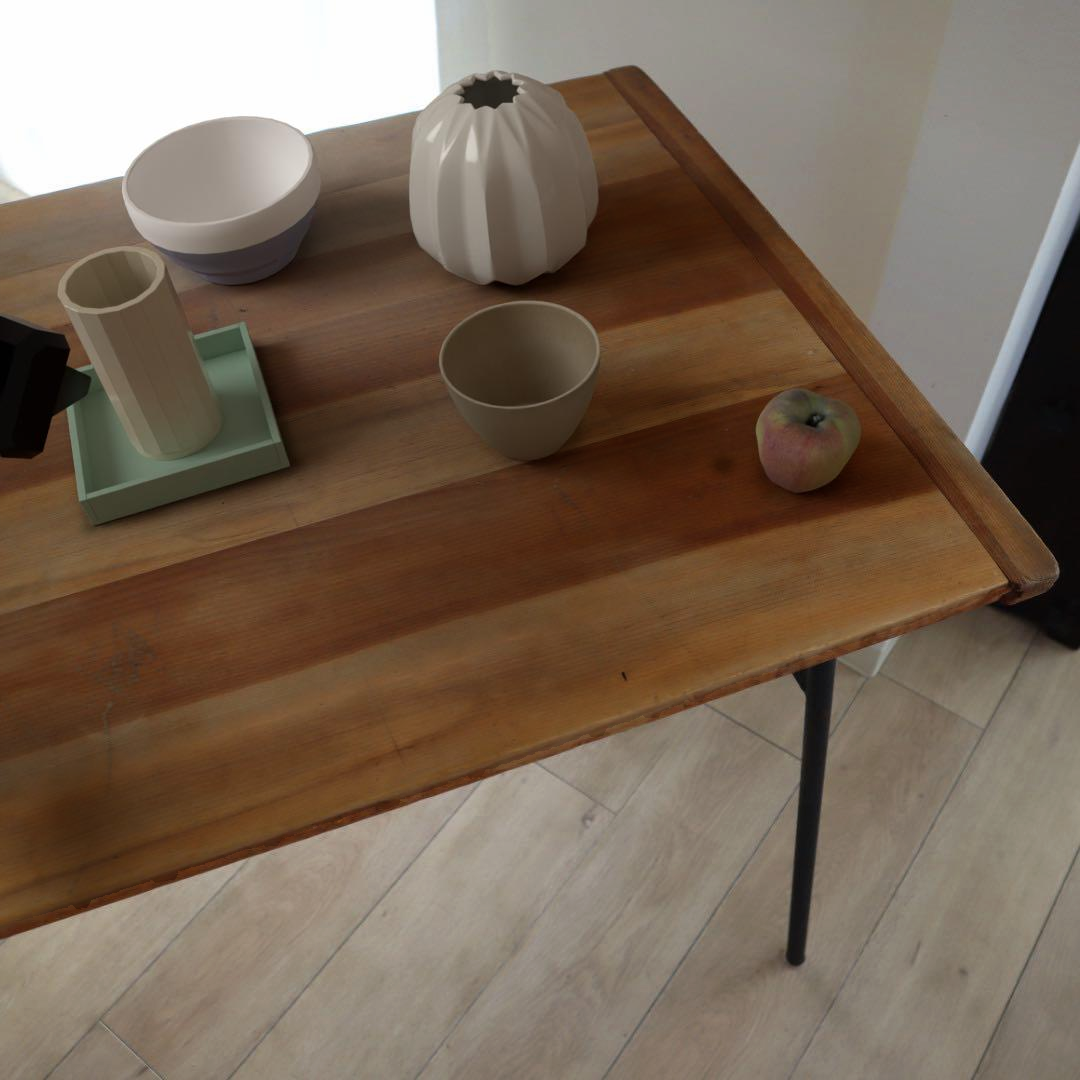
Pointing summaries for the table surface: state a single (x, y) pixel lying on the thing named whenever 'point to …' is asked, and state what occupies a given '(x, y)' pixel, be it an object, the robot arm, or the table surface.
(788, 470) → the apple
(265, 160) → the bowl
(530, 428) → the flower pot
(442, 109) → the vase
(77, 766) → the table surface
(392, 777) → the table surface
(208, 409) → the rice cup
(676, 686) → the table surface
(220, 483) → the serving tray
